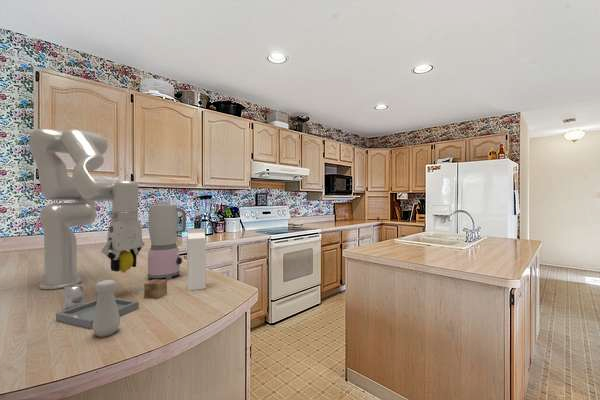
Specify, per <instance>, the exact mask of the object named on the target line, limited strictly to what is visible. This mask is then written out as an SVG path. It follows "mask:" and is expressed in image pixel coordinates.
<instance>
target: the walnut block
mask: <svg viewBox="0 0 600 400" xmlns="http://www.w3.org/2000/svg"><path fill="white" fill-rule="evenodd" d="M143 289H144V290H143V293H144V294H143V297H144V298H143V299H154V300H155V299H156V300H158V299H161V298H162V297H164V296H165V295H167V294H168V280H166V279H161V278H152V279H150V280H149V281H147V282H145V283H144V284H143Z"/></svg>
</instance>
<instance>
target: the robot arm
mask: <svg viewBox="0 0 600 400" xmlns="http://www.w3.org/2000/svg"><path fill="white" fill-rule="evenodd" d="M28 147H29V151H30V153H31V156H32V157H33V160H34V162H35V163H36V167H37V171H38V172H37V173H38V180H39V184H40V189H41V194H42V196H43V197H44V198H45V199H46V200H49V201H74V202H57V203H54V202H53V203H50V204H47V205H45V206H44V207H42V209H41V210H40V212H39V213H40V214H39V217H40V222H41V225H42V232H43V242H44V243H43V247H44V249H43V250H44V255H43V256H44V257H43V258H44V273H43V275H42V278H44V282H41V283H39V289H41V290H58V289H63V288H64V289H65V287H66V286H69V285H74V284H81V283H82V282H83V278H82V277H80V276H78V264H77V263H78V258H77V256H78V255H77V254H78V253H77V252H78V251H77V250H78V247H77V246H78V245H77V237H76V235H75V233H74V232H73V231H72V230H71V228H72V227H81V226H89V225H92V224H93V223H94V222H95V221H96V217H97V210H96V205H95V202H112V205H111V206H112V207H111V208H112V209H111V210H112V211H111V213H110V214H109V215H108V216H109V219H111V221H110V222H109V224H108V225H109V226H108V229H107V237H106V244H105V245H104V246H103V248H102V249H101V250H100V252H101V253H103V254H104V255H105V256H106V257H107V258H108V259H109V260H110V271H111V272H118V273H119V272H120V271H119V269H120V260H119V259H118V257H119V254H120V252H121V251H129V252H130V253H131V254H132V255H133V265H132V267H131V268H136V267H137V256H139V253H140V251H141V250H142V248H143V247H144V246H145V242H144V241H143V231H142V224H141V220H140V219H139V214H138V213H139V183H138V182H137V181H131V180H120V179H119V180H118V179H105V178H93V176H91V174H90V173H91V172H93V171H96V170H98V169H99V168H101V166H102V165H103V164H104V162H105V158H104V157H103V154H105V153H106V152H107V150H108V142H107V140H106V138H105V137H104V136H103V135H101V134H100V133H97V132H92V131H88V130H82V129H77V128H70V129H66V130H60V129H59V130H58V129H53V128H45V127H44V128H38V129H37V128H36V129H34V130H33V131H32V132H31V134H30V136H29V141H28ZM56 153H62V154H69V156H70V157H71V158H72V160H73V162H74V163H75V166H74V168H73V169H72V174H71V175H72V176H69V174H68V171H67V166H66V163H65V162H64V161H63V159H62V158H61V157H60V156H58V154H56Z"/></svg>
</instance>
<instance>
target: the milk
mask: <svg viewBox="0 0 600 400" xmlns="http://www.w3.org/2000/svg"><path fill="white" fill-rule="evenodd" d="M186 238H187V239H186V244H187V245H186V252H187V253H186V255H187V256H186V257H187V258H186V261H187V262H186V264H187V265H186V269H187V270H186V271H187V276H186V277H187V278H186V279H187V289H188V291H189V292H190V291H198V290H202V289H203V290H204V289H206V288H207V268H206V267H207V264H206V263H207V260H206V259H207V257H206V256H207V255H206V254H207V253H206V252H207V249H206V247H207V246H206V239H207V238H206V234H205V228H203V227H202V228H188V229H187V235H186Z"/></svg>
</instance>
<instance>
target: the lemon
mask: <svg viewBox="0 0 600 400" xmlns="http://www.w3.org/2000/svg"><path fill="white" fill-rule="evenodd" d="M118 259H119V260H120V269H119V271H118V272H121V273H126V272H127V271H128V270H130V269H131V268H133V267H132V265H133V255H132V254H131V253H130V252H129V250H126V251H120V254H119V257H118Z"/></svg>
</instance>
